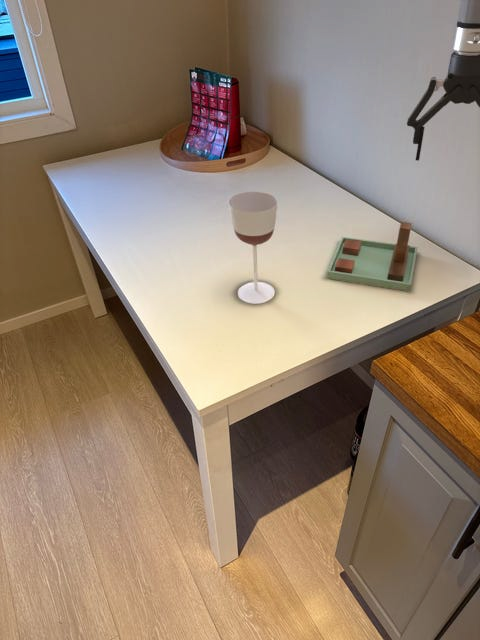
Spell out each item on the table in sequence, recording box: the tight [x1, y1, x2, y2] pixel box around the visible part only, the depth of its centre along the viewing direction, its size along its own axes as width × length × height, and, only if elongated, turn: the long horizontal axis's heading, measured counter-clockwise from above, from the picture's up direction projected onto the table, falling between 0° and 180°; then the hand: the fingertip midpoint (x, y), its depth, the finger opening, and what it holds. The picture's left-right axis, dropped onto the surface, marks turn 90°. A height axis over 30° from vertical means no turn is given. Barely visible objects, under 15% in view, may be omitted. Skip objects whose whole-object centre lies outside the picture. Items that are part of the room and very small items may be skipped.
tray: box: [326, 236, 419, 293], centre depth 119 cm, size 19×17×2 cm
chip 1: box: [342, 240, 361, 256], centre depth 124 cm, size 4×4×2 cm
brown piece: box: [387, 221, 413, 282], centre depth 114 cm, size 4×14×12 cm, turn 159°
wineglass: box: [228, 191, 278, 305], centre depth 106 cm, size 9×10×23 cm
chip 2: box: [335, 258, 355, 274], centre depth 118 cm, size 4×4×2 cm
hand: (450, 160), depth 106 cm, fingers open, 13 cm apart
